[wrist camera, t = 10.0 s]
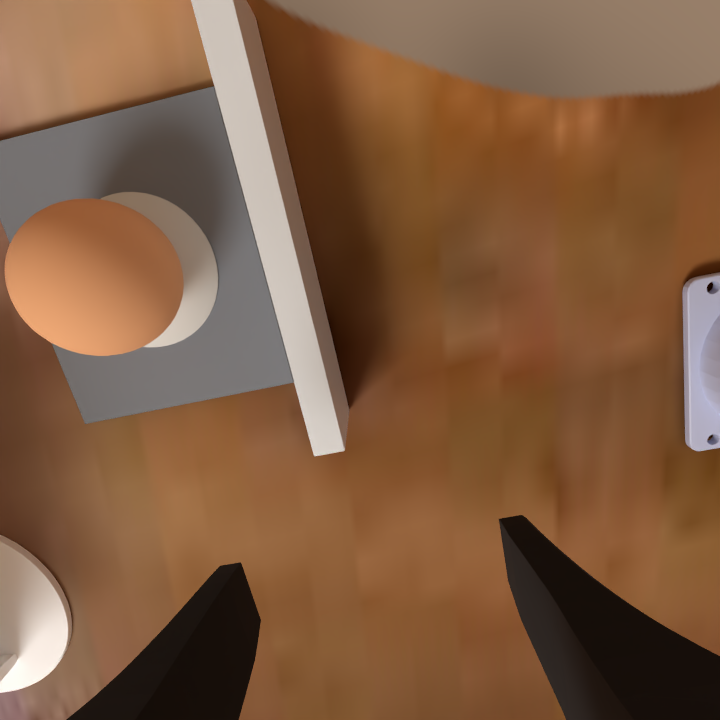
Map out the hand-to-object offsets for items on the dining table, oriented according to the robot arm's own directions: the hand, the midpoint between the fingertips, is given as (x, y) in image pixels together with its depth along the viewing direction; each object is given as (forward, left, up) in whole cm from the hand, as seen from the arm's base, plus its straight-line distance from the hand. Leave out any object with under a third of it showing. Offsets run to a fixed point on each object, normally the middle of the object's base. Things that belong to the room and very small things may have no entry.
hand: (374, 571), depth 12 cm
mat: (+8, -9, -9) cm, 15 cm away
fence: (+2, -9, -9) cm, 13 cm away
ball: (+8, -9, -6) cm, 14 cm away
